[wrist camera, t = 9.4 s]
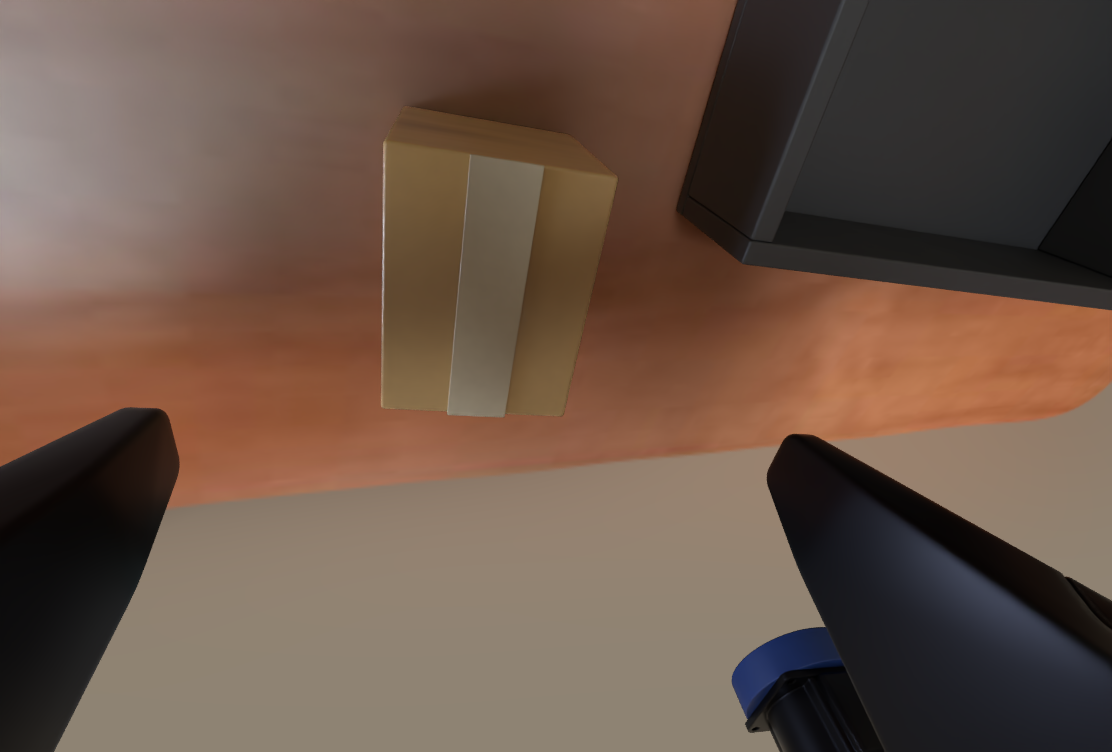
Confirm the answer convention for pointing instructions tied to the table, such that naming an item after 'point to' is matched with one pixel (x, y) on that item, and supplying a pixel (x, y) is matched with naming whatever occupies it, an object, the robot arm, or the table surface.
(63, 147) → the table surface
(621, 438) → the table surface
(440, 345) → the package
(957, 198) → the bin
